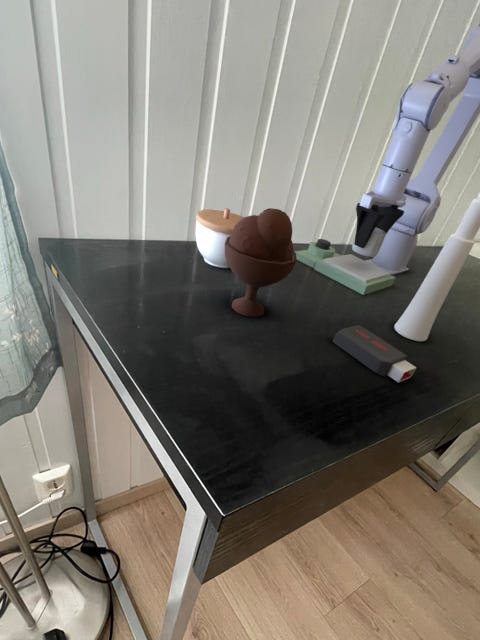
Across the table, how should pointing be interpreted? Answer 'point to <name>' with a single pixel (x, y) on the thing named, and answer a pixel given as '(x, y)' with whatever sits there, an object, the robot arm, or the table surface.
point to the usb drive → (374, 353)
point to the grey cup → (371, 244)
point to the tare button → (323, 244)
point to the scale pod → (315, 254)
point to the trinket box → (214, 234)
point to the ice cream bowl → (260, 255)
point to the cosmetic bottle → (440, 278)
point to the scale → (355, 273)
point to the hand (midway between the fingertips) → (366, 245)
